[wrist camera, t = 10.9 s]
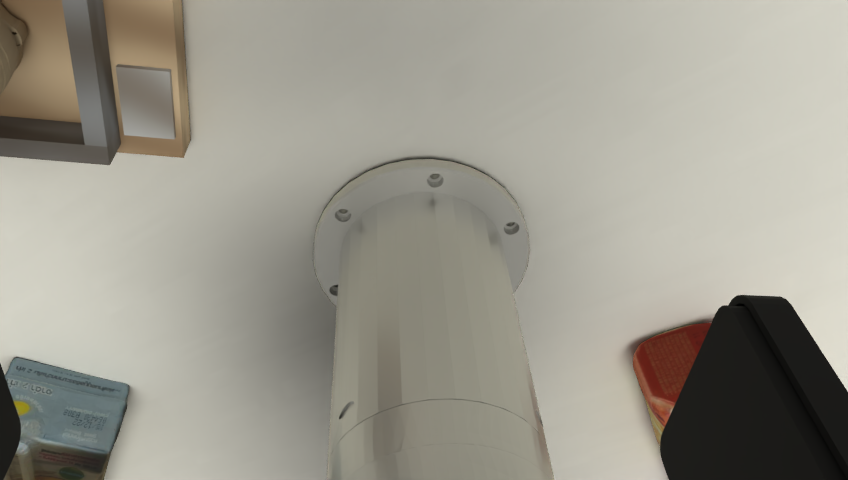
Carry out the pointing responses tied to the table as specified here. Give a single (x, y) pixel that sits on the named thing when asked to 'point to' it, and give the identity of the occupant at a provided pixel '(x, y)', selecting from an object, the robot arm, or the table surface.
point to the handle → (10, 45)
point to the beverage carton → (63, 422)
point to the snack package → (666, 369)
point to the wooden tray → (97, 81)
